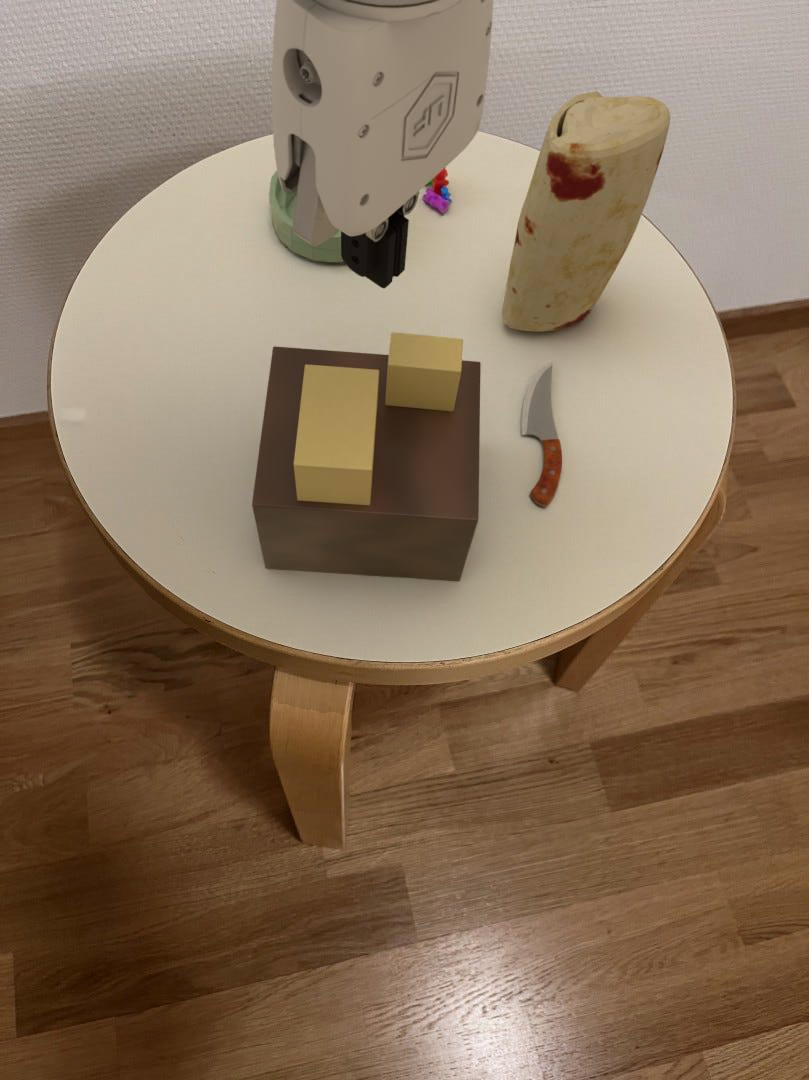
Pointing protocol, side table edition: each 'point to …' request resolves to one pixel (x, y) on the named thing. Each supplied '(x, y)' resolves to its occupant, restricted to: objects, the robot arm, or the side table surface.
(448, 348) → the butter slice
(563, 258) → the food model
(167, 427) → the side table surface
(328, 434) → the butter
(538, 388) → the knife
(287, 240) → the dish
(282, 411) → the chopping block
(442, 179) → the multicolored plastic block cluster
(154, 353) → the side table surface
